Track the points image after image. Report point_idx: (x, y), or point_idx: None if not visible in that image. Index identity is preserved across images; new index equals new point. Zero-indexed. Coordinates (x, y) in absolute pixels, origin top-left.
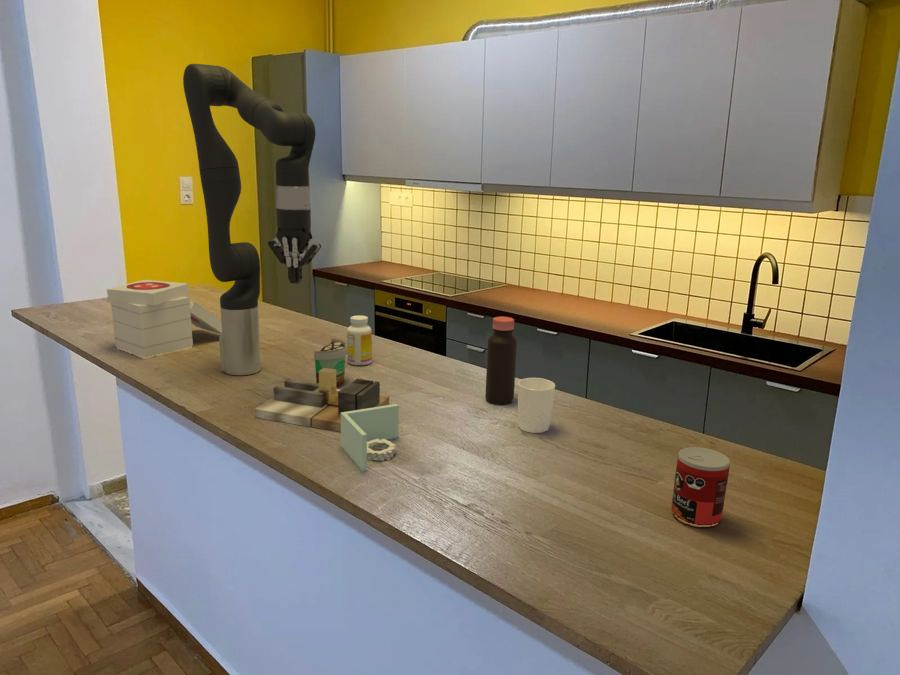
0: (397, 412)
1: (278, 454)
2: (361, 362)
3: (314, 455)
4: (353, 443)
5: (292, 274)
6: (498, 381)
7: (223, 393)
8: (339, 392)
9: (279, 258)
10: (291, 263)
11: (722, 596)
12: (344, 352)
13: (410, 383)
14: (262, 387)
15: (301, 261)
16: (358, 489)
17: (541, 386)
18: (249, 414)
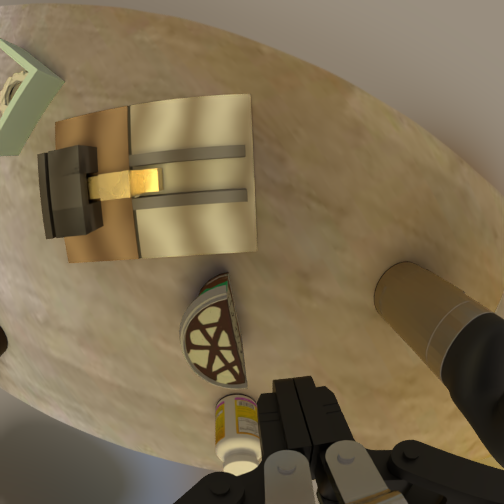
0: None
1: (131, 15)
2: (223, 400)
3: (85, 39)
4: (25, 54)
5: (303, 411)
6: None
7: (372, 177)
8: (75, 145)
9: (435, 459)
10: (328, 468)
11: None
12: (180, 342)
13: (106, 358)
14: (328, 233)
15: (229, 498)
16: (19, 20)
17: None
18: (267, 105)
